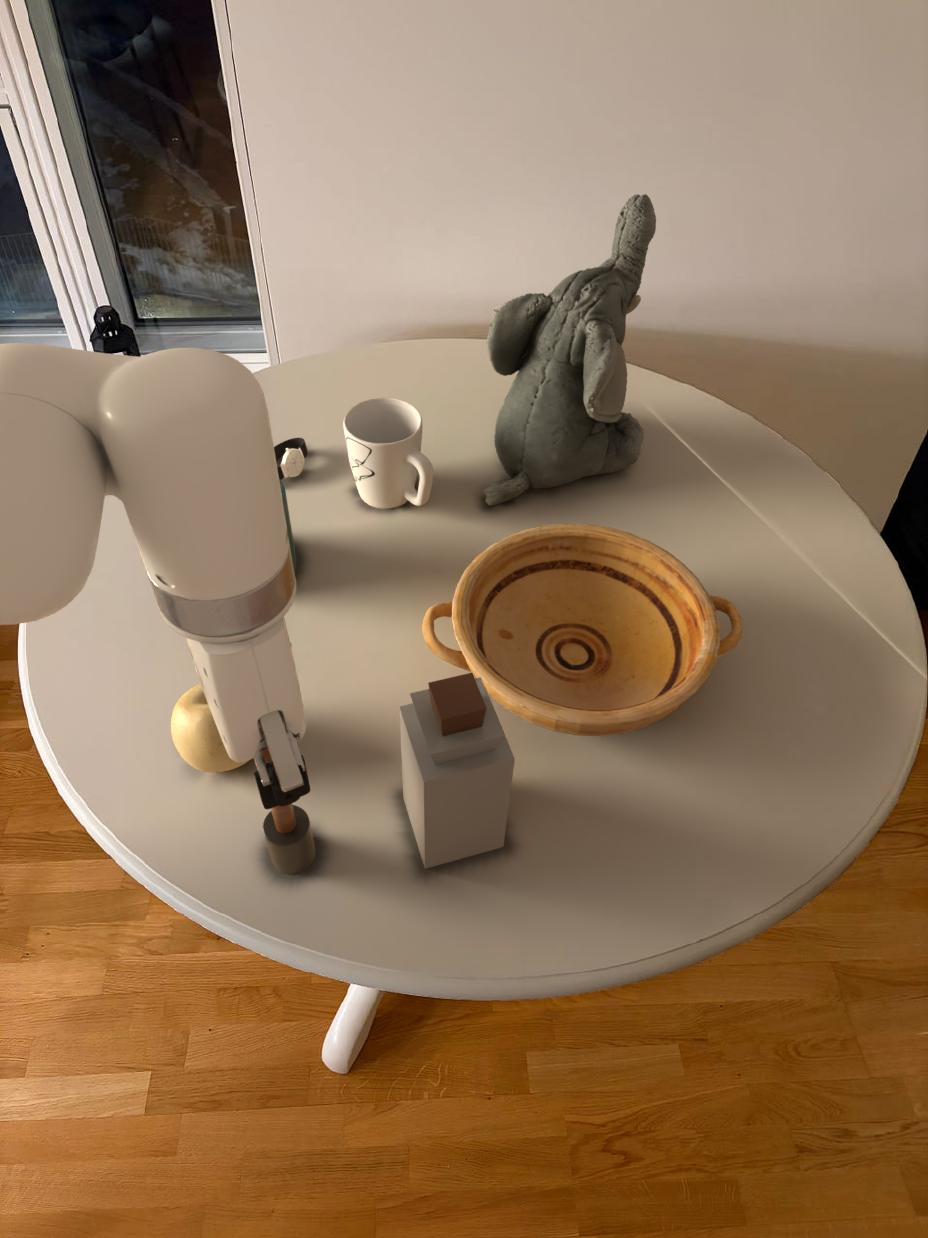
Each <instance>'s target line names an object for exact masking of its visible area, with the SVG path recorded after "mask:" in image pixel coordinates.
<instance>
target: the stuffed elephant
mask: <svg viewBox="0 0 928 1238" xmlns="http://www.w3.org/2000/svg"><path fill="white" fill-rule="evenodd" d="M618 214H619V215H618V216H617V219H616V221H615V229H614V238H613V241H612V247H611V256H610V257H609V258H607V259H605V261H603V262H602V263H601V264H600V265H599V266H596V267H595V266H594V267H590V268H585V269H584V270H583V269H581V270H578V271H575V272H573V273H571V274H570V275H568V276H566V277H564V278H563V279H562V280H561V281H560V282H559V283H557V285H556V286H555V287H553V289H552V290H551V292H549V293H548V294H547V295H546V294H545V293H543V292H542V293H541V292H540V293H539V292H538V293H537V292H534V293H531V292H530V293H529V292H527V293H525V294H524V295H521V296H517V297H515V298H512V299H510V300H508V301H506V302H505V303H504V304H503V305H502V306H500V307H499V309H498V310H495V314H494V315H493V317H492V319H491V322H490V324H489V328H488V334H487V335H486V350H487V356H488V359H489V361H490V365H491V367H492V369H493V371H495V373H497V374H499V375H500V376H503V377H507V376H512V375H514V374H516V373H517V374H516V376H515V378H514V380H513V381H512V383H511V386H510V388H509V390H508V393H507V394H506V396H505V398H504V400H503V401H504V402H503V404H502V406H501V408H500V410H499V411H498V415H497V417H496V421H495V428H494V440H493V441H494V448H495V452H496V455H497V458H498V460H499V461H500V464H501V466H502V467H503V470H504V471H505V474H507V476H508V477H509V478H507V479H500V480H497V481H495V482H493V483H491V484H490V485H488V486H486V487H485V488H484V490H483V494H484V495H485V500H484V501H485V503H486V504H487V505H488V506H496V505H500V504H503V503H505V502H507V501H510V500H512V499H515V498H516V497H518V496H520V495H521V494H523V493H524V492H525V491H526V490H528V489H529V488H531V489H548V488H549V489H550V488H556V487H559V486H562V485H566V484H569V483H572V482H575V481H577V480H580V479H582V478H584V477H591V476H598V475H605V474H607V475H608V474H613V473H616V472H618V471H622V470H624V469H627V468H628V467H630V466H632V465H634V464H635V463H637V462H638V460H639V456H640V455H641V452H642V445H643V444H644V440H645V439H644V438H645V431H644V430H645V428H644V427H643V426H642V424H641V423H640V422H639V420H638V419H637V418H635V417H634V416H633V415H632V413H627V412H623V408H624V407H625V401H626V395H627V389H628V388H627V386H628V368H627V362H626V361H627V360H626V356H625V355H626V354H625V351H624V348H623V343H624V341H625V338H626V337H625V336H626V327H627V326H626V323H627V322H626V321H627V315H628V314H631V313H633V311H634V310H635V309H637V308H638V306H639V305H640V303H641V301H642V297H641V295H639V294H638V291H639V289H640V288H641V287H640V286H641V284H642V277H643V273H644V268H645V266H646V260H647V259H646V257H647V253H648V251H649V245H650V243H651V241H652V239H653V238H654V236H655V234H656V229H657V215H656V213H655V208H654V204H653V202H652V200H651V197H649V195H648V194H647V193H645V194H644V193H643V194H641V195H640V194H633V195H632V196H630V198H628V200H627V202H625V204H624V205H623V207H622V208H621V209H620V212H619V213H618Z"/></svg>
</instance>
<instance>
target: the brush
mask: <svg viewBox="0 0 928 1238" xmlns="http://www.w3.org/2000/svg"><path fill="white" fill-rule="evenodd" d="M259 730H260V733H262V730H261V728H259ZM262 754H263V757H264V760H265V763H267V762H270V761H272V758H271V756H270V753H269V750H268V748H267V749H264V750H262ZM262 833H263V836H264V840H265V843H266V847H267V850H268V853H269V857H270V860H271V863H272V865H273V867H274V868H275V869H276V871H278V872H280V873H281V874H286V875H296V874H300V873H303V872H304V871H306V870H307V869H308V868H310V866H311V865H312V864H313V862H314V860H315V857H316V845H315V840H314V836H313V831H312V826H311V821H310V818H309V815H308V813H307V812H306V810H304V808H302V807H300V806H298V805H295V804H293V803H292V804H289V805H286V806H276V807H274V808H271V809H270V811H269V812H268V813H267V814H266V815H265V818H264V820H263V822H262Z"/></svg>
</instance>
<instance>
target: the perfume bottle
mask: <svg viewBox="0 0 928 1238" xmlns="http://www.w3.org/2000/svg"><path fill="white" fill-rule="evenodd" d="M427 684H428V688H427V689H423V690H419V691H415V692H410V693H409V695H410V699H411V701H412V703H409V704H405V705H401V706H398V707H399V709H398V710H399V727H400V728H399V730H400V732H399V733H400V753H401V773H402V776H401V777H402V795H403V796H402V797H403V802H404V805H405V808H406V811H407V814H408V818H409V821H410V825H411V828H412V832H413V834H414V838H415V841H416V844H417V847H418V851H419V854H420V857H421V861H422V865H423V867H424V869H425V870H426V869H429V868H433V867H436V866H439V865H443V864H447V863H451V862H454V861H457V860H461V859H466V858H469V857H472V856H476V855H480V854H483V853H487V852H490V851H494V850H497V849H502V848H504V846H505V839H506V830H507V823H508V817H509V816H508V814H509V806H510V798H511V791H512V783H513V776H514V770H515V769H514V768H515V760H516V759H515V756H514V753H513V751H512V749H511V746H510V744H509V742H508V738H507V737H506V734H505V732H504V729H503V727H502V724H501V722H500V720H499V716H498V713H497V711H496V709H495V707H494V705H493V702H492V700H491V696H490V694H489V693H488V692H487V690H486V687H485V686H484V684H483V681H482V679H481V677H479V678H476V677H475V676H474V674H473V673H472V672H469V673H465V674H460V675H459V674H458V675H456V676H455V675H454V676H451V677H447V678H442V679H439V680H433V681H430V682H428V683H427Z"/></svg>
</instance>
